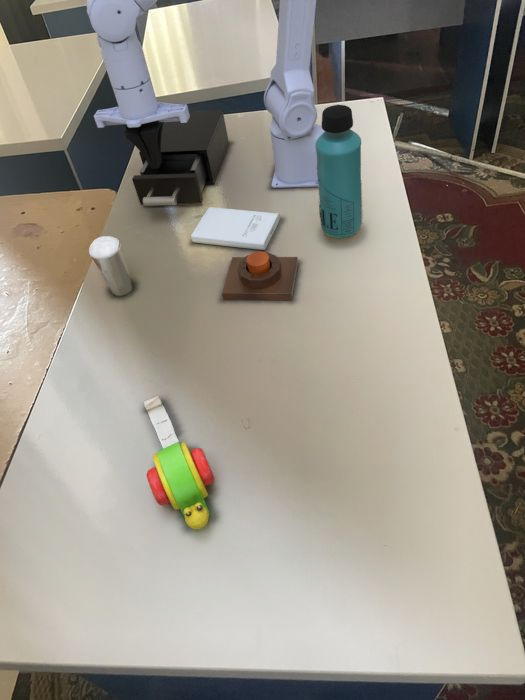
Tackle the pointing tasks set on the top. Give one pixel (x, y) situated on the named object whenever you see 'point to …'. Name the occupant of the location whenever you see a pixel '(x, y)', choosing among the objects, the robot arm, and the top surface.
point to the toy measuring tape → (178, 470)
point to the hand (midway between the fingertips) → (156, 165)
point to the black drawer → (172, 181)
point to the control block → (261, 280)
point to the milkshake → (111, 264)
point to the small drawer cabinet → (197, 139)
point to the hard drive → (236, 228)
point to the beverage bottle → (339, 173)
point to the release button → (258, 262)
